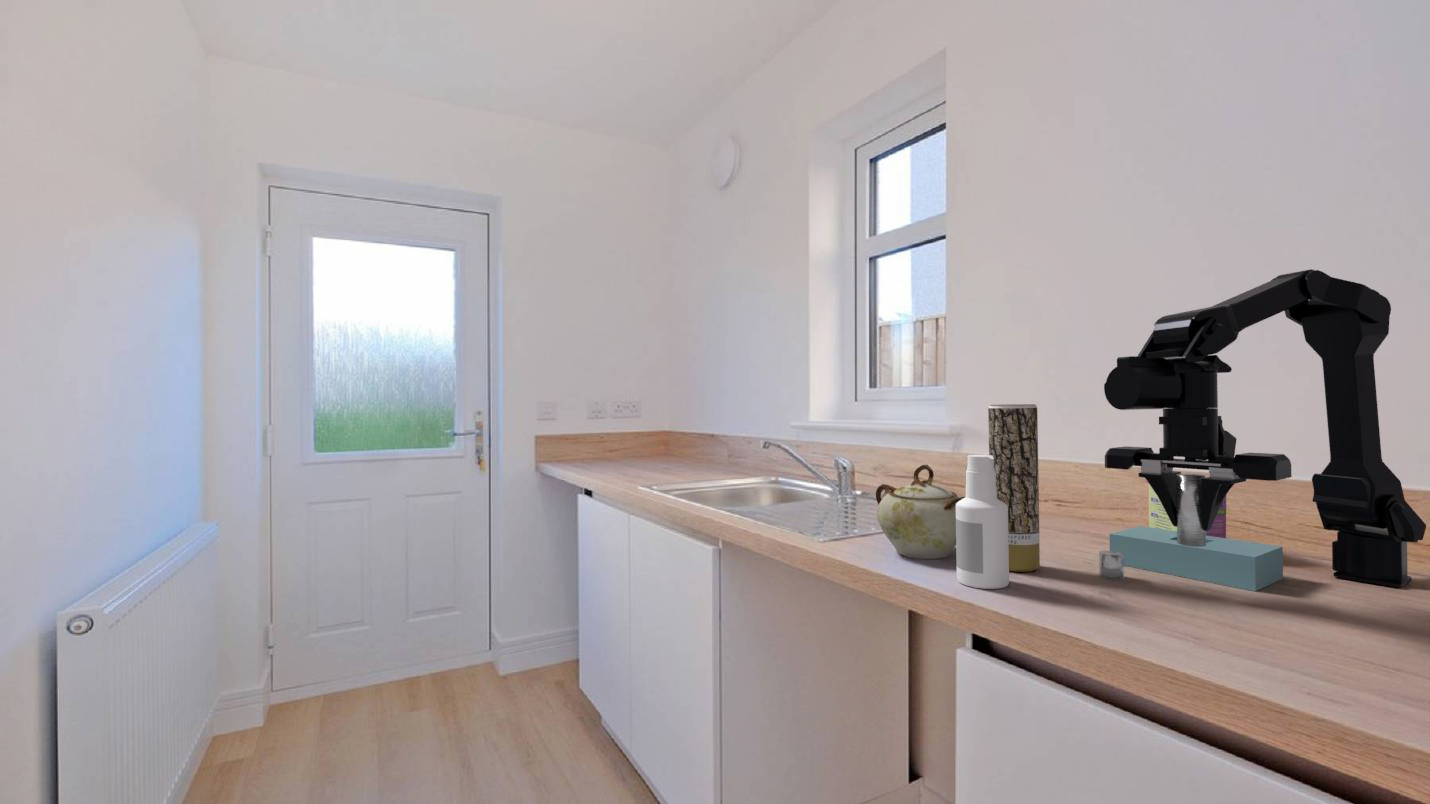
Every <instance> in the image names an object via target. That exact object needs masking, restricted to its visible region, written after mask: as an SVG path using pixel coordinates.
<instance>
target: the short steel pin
mask: <svg viewBox="0 0 1430 804" xmlns="http://www.w3.org/2000/svg"><path fill="white" fill-rule="evenodd" d="M1124 566H1125V565H1124V554H1123V553H1120V552H1115V551H1110V550H1099V551H1098V575H1099V577H1100V578H1101V579H1104V580H1108V581H1123V580H1124V579H1125V574H1124V573H1125V570H1124V569H1125V567H1124Z"/></svg>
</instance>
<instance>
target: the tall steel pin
mask: <svg viewBox="0 0 1430 804" xmlns="http://www.w3.org/2000/svg"><path fill="white" fill-rule="evenodd" d="M1201 478H1206V475H1204V474H1198V473H1197V474H1196V473H1181V474H1176V488H1177V543H1178V544H1181V545H1186V546H1194V547H1204V546H1206V531H1204V530H1203V525H1202V519H1201Z"/></svg>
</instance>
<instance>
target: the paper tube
mask: <svg viewBox="0 0 1430 804" xmlns="http://www.w3.org/2000/svg"><path fill="white" fill-rule="evenodd" d="M987 408H988V409H987V410H988V411H987V412H988V417H987V418H988V455H992V456H993V458H994V468H995V471H996V487H997V499H999V500H1000V501H1002V502H1003V503H1005V504H1006V505H1007V506H1008V541H1009V572H1021V573H1026V572H1027V573H1028V572H1034V571H1036V570H1038V569H1039V568H1040V566H1041V563H1040V562H1041V560H1040V557H1041V556H1040V554H1041V553H1040V551H1041V550H1040V494H1039V493H1040V492H1039V491H1040V489H1039V488H1040V487H1039V486H1040V485H1039V484H1040V483H1039V482H1040V481H1039V479H1040V478H1039V431H1038V429H1039V428H1038V427H1039V426H1038V425H1039V424H1038V423H1039V421H1038V406H1037V404H1036V403H1034V404H1033V403H1031V404H1028V403H1027V404H1025V403H1020V404H1019V403H1017V404H1016V403H1013V404H1012V403H1011V404H989V405H988V407H987Z"/></svg>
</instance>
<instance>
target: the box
mask: <svg viewBox="0 0 1430 804" xmlns="http://www.w3.org/2000/svg"><path fill="white" fill-rule="evenodd" d="M1148 527H1151V528H1158V529H1165V530H1172V531H1177V527H1175V526H1173V524H1172V523H1171V521H1170V519H1169V517H1168V515H1167V513H1166V511H1165V509H1164V507H1163V505H1162V503H1161V501H1160V500H1159V498H1158V496H1157V495H1156V493H1155V492H1154V490H1153V489H1152V487H1151V486H1150V484H1149V483H1148ZM1206 536H1213V537H1220V538H1227V495H1226V496H1225V498H1224V499H1223V501H1222V504H1221V506H1220V508H1219V510H1218V513H1217V515H1216V517H1215V520H1214V522H1213V524H1212V527H1211V529H1210V530H1208V531H1206Z"/></svg>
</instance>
